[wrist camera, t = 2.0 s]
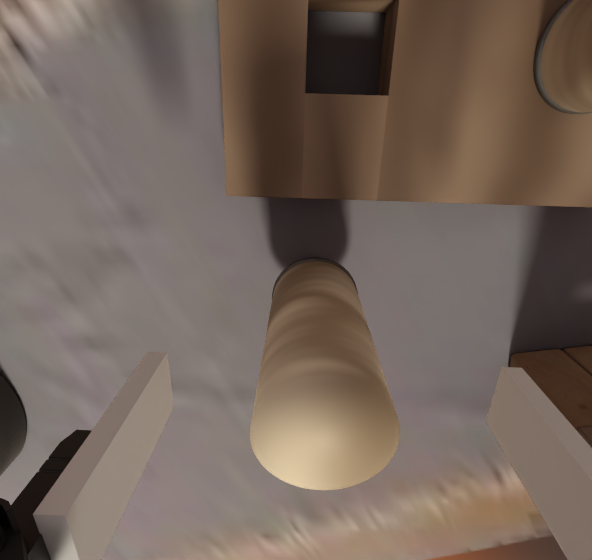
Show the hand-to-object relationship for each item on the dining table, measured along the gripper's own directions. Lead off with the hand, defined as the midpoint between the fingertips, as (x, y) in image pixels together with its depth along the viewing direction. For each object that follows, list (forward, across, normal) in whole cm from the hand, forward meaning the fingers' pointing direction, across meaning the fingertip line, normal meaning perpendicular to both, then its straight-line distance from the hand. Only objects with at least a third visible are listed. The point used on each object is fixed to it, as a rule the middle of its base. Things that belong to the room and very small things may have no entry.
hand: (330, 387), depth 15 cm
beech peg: (+11, -1, 0) cm, 11 cm away
